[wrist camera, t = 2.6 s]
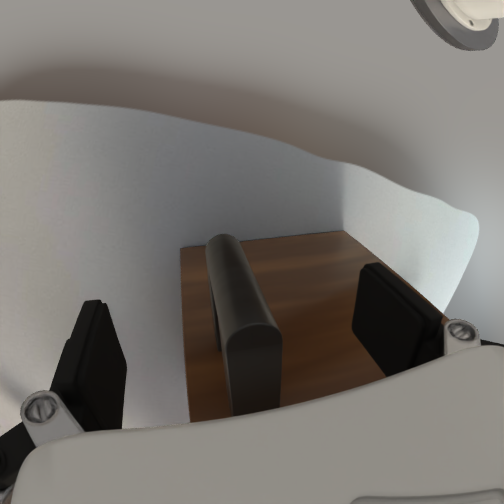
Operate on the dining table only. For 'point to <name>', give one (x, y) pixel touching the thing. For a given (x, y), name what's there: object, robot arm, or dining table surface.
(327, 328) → the cupboard door
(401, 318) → the robot arm
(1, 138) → the dining table surface
